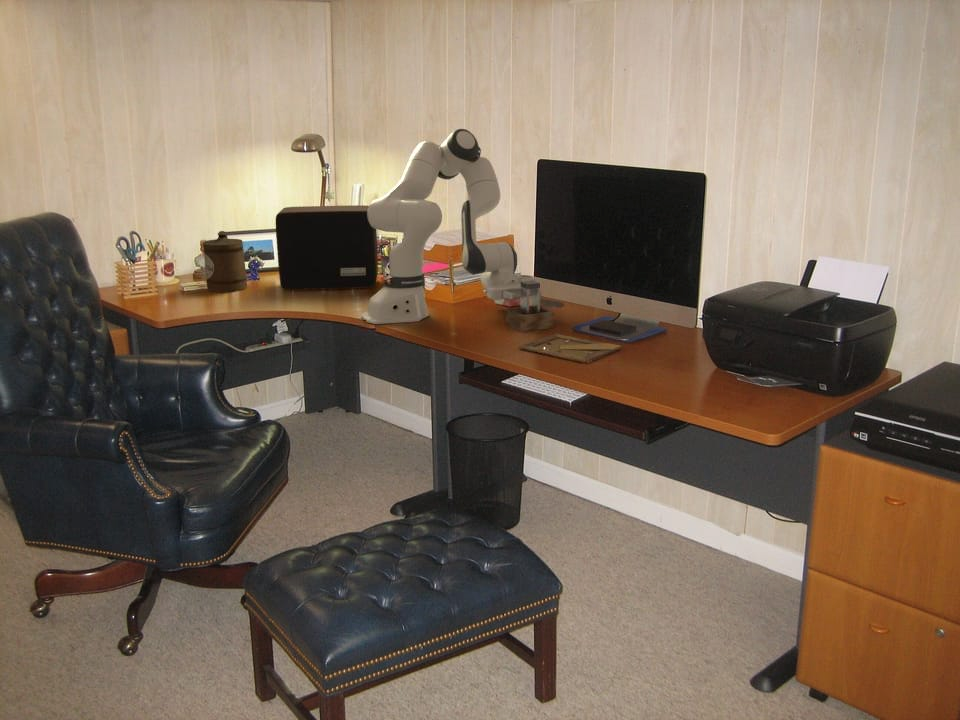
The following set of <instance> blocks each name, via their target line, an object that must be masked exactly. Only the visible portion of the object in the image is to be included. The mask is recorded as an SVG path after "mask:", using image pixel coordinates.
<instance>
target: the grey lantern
mask: <svg viewBox="0 0 960 720" xmlns="http://www.w3.org/2000/svg"><path fill="white" fill-rule="evenodd" d="M529 289H531V296H529ZM530 301H531V302H530ZM530 304H531V305H530ZM529 306H531V314H537V313H540V306H541V296H540V283H539V282H537V281H534V280H531V281H521V298H520V307H521V314H523V315H528V314H529Z"/></svg>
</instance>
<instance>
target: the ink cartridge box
mask: <svg viewBox="0 0 960 720" xmlns="http://www.w3.org/2000/svg"><path fill="white" fill-rule="evenodd" d="M521 273H522V272H519V271H515V273H514V274H516V275H522V274H521ZM494 303H495V304H497V305H502V306H506V307H508V308H513V307H519V306H521V298H518V299H515V300H513V301H507V300H504V299H499V300H494Z"/></svg>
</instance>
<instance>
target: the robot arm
mask: <svg viewBox="0 0 960 720" xmlns="http://www.w3.org/2000/svg"><path fill="white" fill-rule="evenodd" d="M481 151H482V149H481V147H480V146H479V143H478V140H477V138H476V137H475V135H474V134H473V133H472V132H471V131H469V130H468V129H465V128H459V129H455V130H454V131H452V132H451V133H450V134H449V135H448V137H446V138H445V140H444V141H443V142H442V143H441V144H440V145H438V144H437V143H435V142H433V141H430V140H425V141H422V142H420V143H418V144H417V146H416V147H415V148H414V149H413V152H412V153H411V155H410V156H409V159H408V161H407V163H406V166H405V168H404V170H403V173H402V175H401V177H400V179H399V180H398V182H397V183H396V184H395V186H393V187H392V188H391V189H390V190H389V191H388V192H386V193H385V194H384V195H382V196H381V197H379V198H376V199H374V200H372V201H371V203H369V205H368V206H369V208H368V211H367V217H368V221H369V223H370V225H371V226H372V227H373V228H375V229H376V230H378V231H383V232H389V233H402V234H403V237H402V241H400V242H399V243H397V244H396V245H394V246H392V248H391V249H390V251H389V254H388V264H389V274H388V275H387V276H385V274H382V275H380V276H379V280H380V281H381V282H383V283H384V286H383V287H382V288H381V289H379V291H377V292H376V293H375V294H374V295H372V296H371V297H370V298H369V300H368V305H367V311H365V312H362V314H361V319H362V318H363V319H364V320H366V321H365V322H366V323H370V324H373V325H379V324H380V325H381V324H397V323H414V322H415V323H416V322H419V321H421V320H422V319H424V318H427V317H428V316H429V315H430V313H429V311H428V305H427V302H426V297H425V290H426V288H425V286H426V282H425V281H426V279H425V278H426V277H425V273H424V268H423V267H424V250H425V247H426V244H427V241H428V239H429V238H430V237H431V236H432V235H433V234H434V233H436V231H438V229H439V228H440V226H441V225H442V221H443V214H442V210H441V208H440V206H439V204H437V202H434V201H431V200H430V201H429V200H427V199H428V198H429V197H430V195H431V194H432V192H433V189H434V187H435V185H436V182H437V179H438V178H440V179H443V180H451V179H454V178H455V177H457V176H458V175H459V174H460V175H461V176H462V177H463V179H464V181H465V187H466V188H465V189H466V191H467V192H466V193H467V198H466V200H465V201H464V202H463V203H462V206H461V216H460V217H461V239H462V245H461V246H462V252H461V264H462V268H463V269H464V270H465V271H466V272H468V273H469V274H470V275H472V276H473V275H479V274H481V275H480V282H481V285H482V286H483V289H482V290H481V291H482V293H484V294H486V297H487V298H488V299H490V300H493V301H495V300H499V299H504V300H507V301H513V300H515V299H518V298H520V299H521V281H531V280H534V279H535V278H534V277H535V276H533V275H528V274H527V275H526V274H525V275H524V274H523V275H522V274H521V275H516V274H514V273H515V271H516V270H517V267H518V253H517V251H516V250H515V248H514V247H513V246H512V245H511V243H509V242H507V241H506V242H505V241H504V242H502V241H501V242H492V243H491V242H490V243H479V242H478V241H477V229H476V228H477V227H476V226H477V225H476V221H477V219H478V218H480V217H483V216H485V215H487V214H489V213H490V212H492V211H493V210H494V209H496V207H497V206H498V205H499V203H500V200H501V190H500V189H501V188H500V186H499V181H498V177H497V175H496V172H495V169H494V167H493V165H492V162H491V161H490V160H489V158H487V157H485V156H481V153H482V152H481ZM516 272H517V271H516ZM529 297H531V289H529ZM540 297H543V295H542V291H541V290H540ZM363 319H362V320H363ZM364 320H363V321H364Z"/></svg>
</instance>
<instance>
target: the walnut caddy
mask: <svg viewBox="0 0 960 720" xmlns="http://www.w3.org/2000/svg"><path fill="white" fill-rule="evenodd" d="M506 325H509V326H510V327H512V328H514V329H516V330H518V331H519V332H531V331H537V330H538V331H539V330H547V329H548V330H549V329H554V328H555V312H554V311H552V310H550V309H548V308H546V307H544V306H541V305H540V313H537V314H531V305H529V314H528V315H523V314H521V306H515V307H508V308H506Z"/></svg>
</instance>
